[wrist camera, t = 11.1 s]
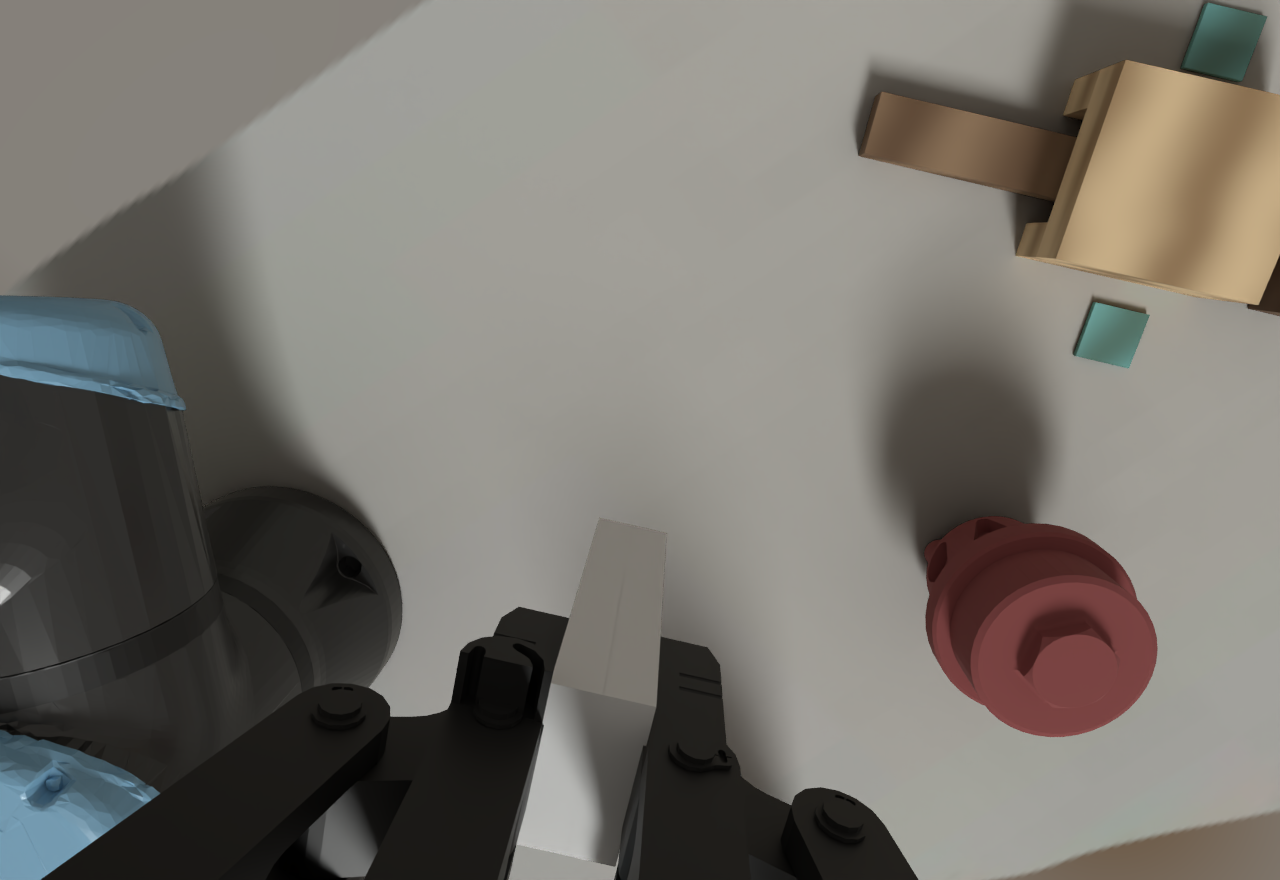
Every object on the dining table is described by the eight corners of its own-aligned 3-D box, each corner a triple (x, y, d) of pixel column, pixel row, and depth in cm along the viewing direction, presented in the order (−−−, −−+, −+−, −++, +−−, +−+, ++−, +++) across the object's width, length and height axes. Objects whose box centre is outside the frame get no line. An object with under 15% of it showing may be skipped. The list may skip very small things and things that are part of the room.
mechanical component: (858, 557, 48) (993, 447, 46) (963, 667, 49) (1099, 566, 47) (914, 663, 36) (1100, 523, 34) (1051, 805, 37) (1238, 679, 35)
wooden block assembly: (819, 295, 44) (831, 301, 40) (920, -63, 40) (945, -95, 36) (1248, 396, 44) (1302, 411, 40) (1400, 50, 40) (1477, 30, 36)
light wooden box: (1014, 255, 43) (1055, 258, 38) (1074, 79, 41) (1125, 59, 36) (1194, 296, 43) (1258, 305, 38) (1264, 123, 41) (1341, 109, 36)
